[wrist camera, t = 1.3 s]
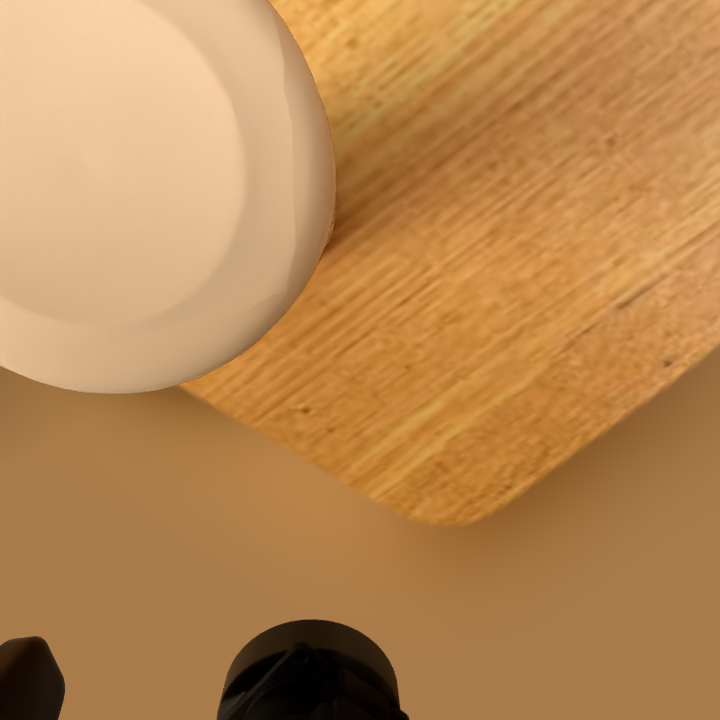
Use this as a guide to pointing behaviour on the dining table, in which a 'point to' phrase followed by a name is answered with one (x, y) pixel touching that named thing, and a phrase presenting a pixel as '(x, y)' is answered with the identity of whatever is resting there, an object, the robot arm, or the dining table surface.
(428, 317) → the dining table surface
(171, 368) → the sprinkles bottle
